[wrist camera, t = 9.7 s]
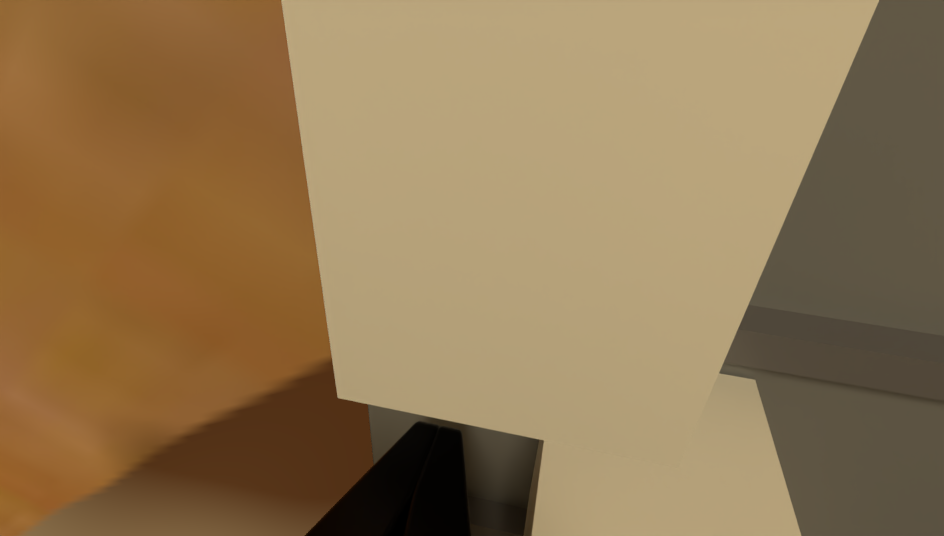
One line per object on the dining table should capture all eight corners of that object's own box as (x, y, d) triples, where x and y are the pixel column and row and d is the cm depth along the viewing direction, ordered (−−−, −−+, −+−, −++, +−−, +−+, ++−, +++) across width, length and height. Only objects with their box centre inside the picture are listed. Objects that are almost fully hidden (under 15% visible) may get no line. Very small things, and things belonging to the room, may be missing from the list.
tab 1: (754, -113, 5) (936, -135, 2) (652, 248, 7) (677, 467, 4) (442, -129, 5) (259, -162, 3) (438, 217, 8) (337, 398, 5)
